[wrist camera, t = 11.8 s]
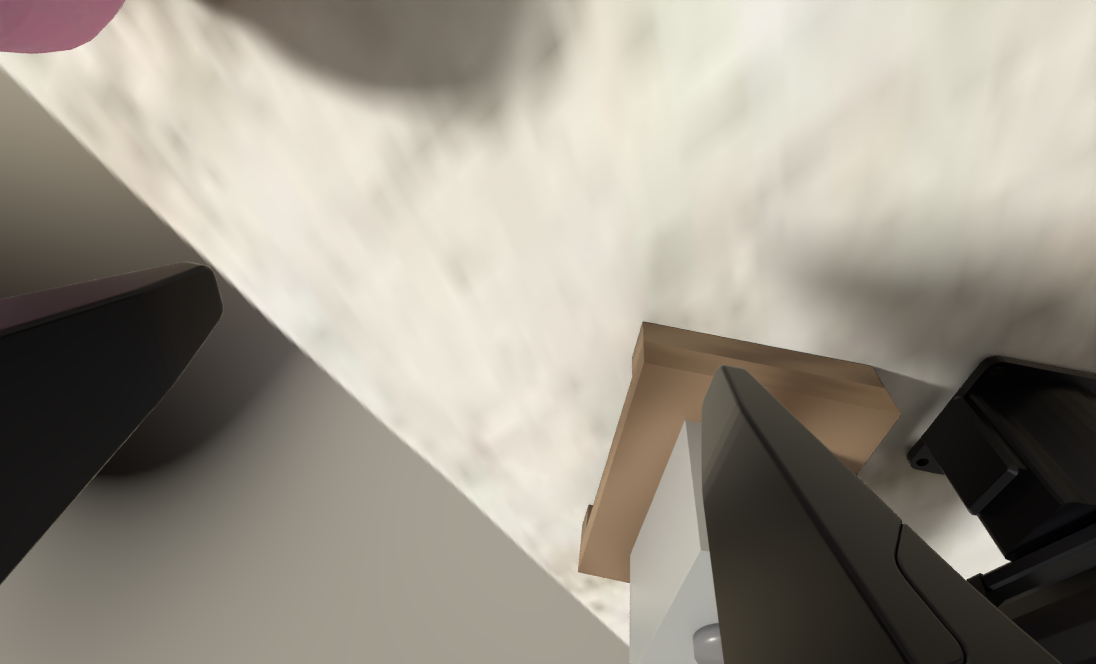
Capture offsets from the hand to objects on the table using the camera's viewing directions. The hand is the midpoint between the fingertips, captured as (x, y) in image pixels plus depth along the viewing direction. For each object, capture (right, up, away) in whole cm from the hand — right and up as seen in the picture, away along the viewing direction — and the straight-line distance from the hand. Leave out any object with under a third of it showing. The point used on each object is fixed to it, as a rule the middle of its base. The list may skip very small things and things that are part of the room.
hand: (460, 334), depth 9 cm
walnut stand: (+10, -7, +17) cm, 21 cm away
